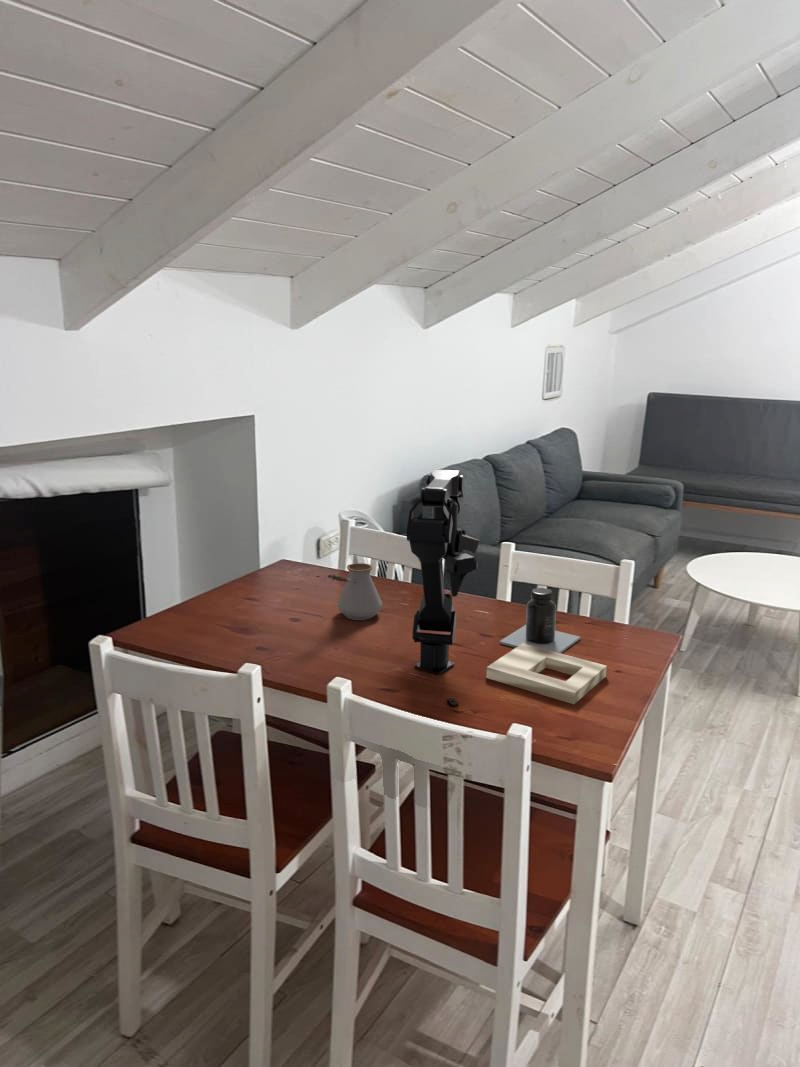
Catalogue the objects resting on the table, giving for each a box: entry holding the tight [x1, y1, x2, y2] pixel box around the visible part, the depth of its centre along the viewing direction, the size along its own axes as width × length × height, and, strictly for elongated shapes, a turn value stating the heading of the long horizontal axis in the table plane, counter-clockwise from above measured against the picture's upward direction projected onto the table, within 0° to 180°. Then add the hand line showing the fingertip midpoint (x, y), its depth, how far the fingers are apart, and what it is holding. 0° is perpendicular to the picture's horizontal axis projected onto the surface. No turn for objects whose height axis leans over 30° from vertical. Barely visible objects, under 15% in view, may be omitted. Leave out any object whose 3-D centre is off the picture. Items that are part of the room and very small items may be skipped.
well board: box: [486, 643, 608, 705], centre depth 171 cm, size 16×20×2 cm
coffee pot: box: [323, 562, 383, 621], centre depth 200 cm, size 21×12×15 cm, turn 154°
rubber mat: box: [499, 624, 581, 654], centre depth 190 cm, size 14×14×1 cm
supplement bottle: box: [525, 587, 557, 644], centre depth 189 cm, size 7×7×12 cm
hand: (443, 590), depth 186 cm, fingers open, 9 cm apart
